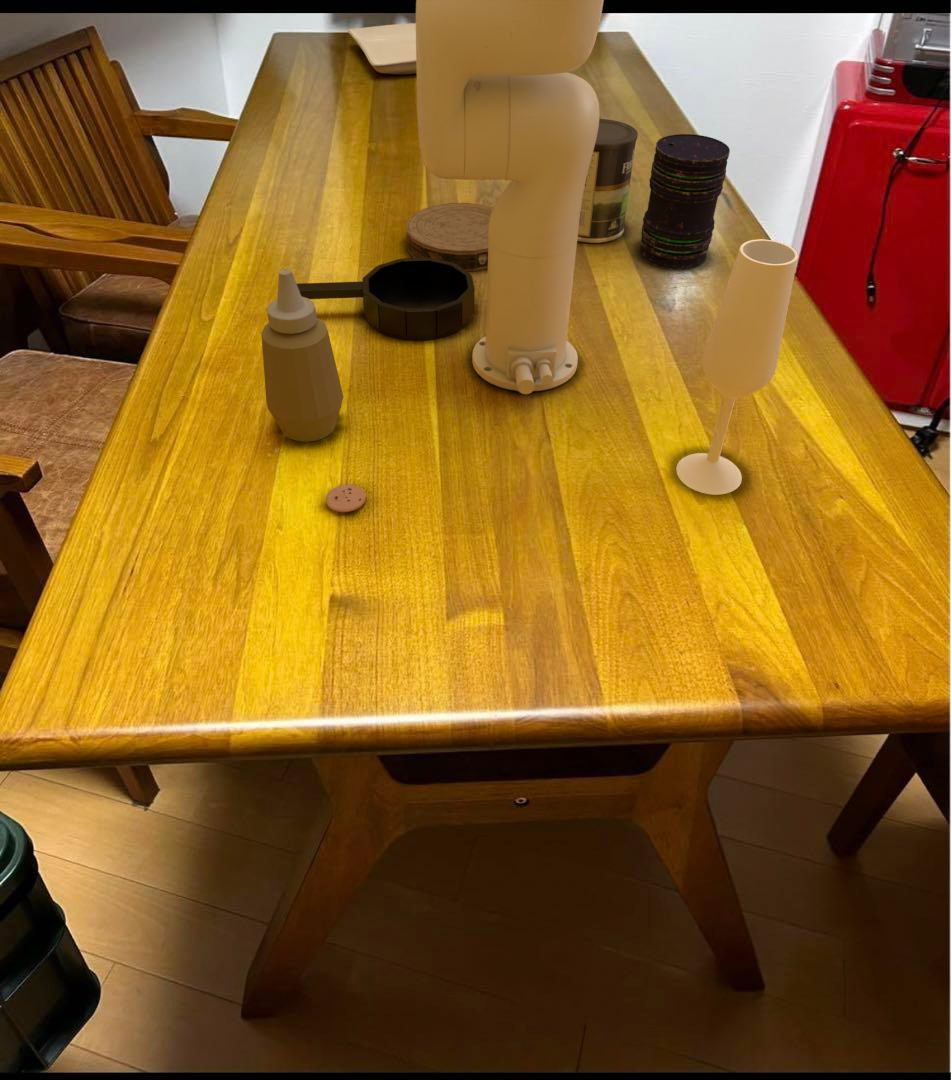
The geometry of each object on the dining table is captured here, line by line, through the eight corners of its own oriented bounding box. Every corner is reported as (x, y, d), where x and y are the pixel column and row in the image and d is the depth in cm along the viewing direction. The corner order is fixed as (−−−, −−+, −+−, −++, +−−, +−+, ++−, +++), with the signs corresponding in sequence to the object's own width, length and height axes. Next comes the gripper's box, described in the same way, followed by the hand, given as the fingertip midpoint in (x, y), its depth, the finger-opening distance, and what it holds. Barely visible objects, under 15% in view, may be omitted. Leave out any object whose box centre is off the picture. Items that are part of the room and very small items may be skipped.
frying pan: (478, 338, 105) (478, 309, 102) (282, 345, 103) (278, 316, 100) (468, 283, 115) (468, 255, 112) (289, 289, 113) (285, 261, 110)
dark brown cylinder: (710, 244, 125) (733, 138, 114) (704, 274, 118) (728, 165, 107) (642, 235, 127) (659, 130, 116) (633, 264, 120) (650, 155, 109)
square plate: (347, 46, 195) (346, 26, 192) (461, 38, 201) (461, 19, 198) (373, 81, 176) (372, 61, 174) (497, 72, 182) (498, 51, 180)
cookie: (375, 499, 83) (374, 492, 83) (344, 520, 81) (343, 512, 80) (348, 482, 85) (347, 474, 84) (317, 502, 83) (316, 494, 82)
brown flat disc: (518, 224, 129) (519, 205, 126) (513, 274, 117) (514, 253, 115) (414, 219, 129) (413, 200, 127) (400, 268, 118) (399, 248, 116)
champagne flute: (662, 472, 87) (711, 251, 70) (700, 444, 91) (755, 227, 74) (717, 504, 84) (783, 279, 67) (754, 474, 87) (825, 252, 70)
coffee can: (626, 217, 131) (640, 121, 121) (621, 246, 124) (635, 147, 114) (560, 210, 132) (568, 115, 122) (551, 239, 125) (559, 140, 115)
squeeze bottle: (311, 396, 96) (288, 244, 83) (362, 424, 92) (346, 269, 80) (255, 429, 91) (223, 273, 79) (306, 460, 88) (281, 302, 75)
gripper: (475, -171, 102) (473, 5, 115) (490, -160, 91) (486, 33, 104) (536, -170, 103) (528, 5, 115) (559, -160, 92) (546, 32, 105)
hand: (508, 18), depth 110 cm, fingers closed
